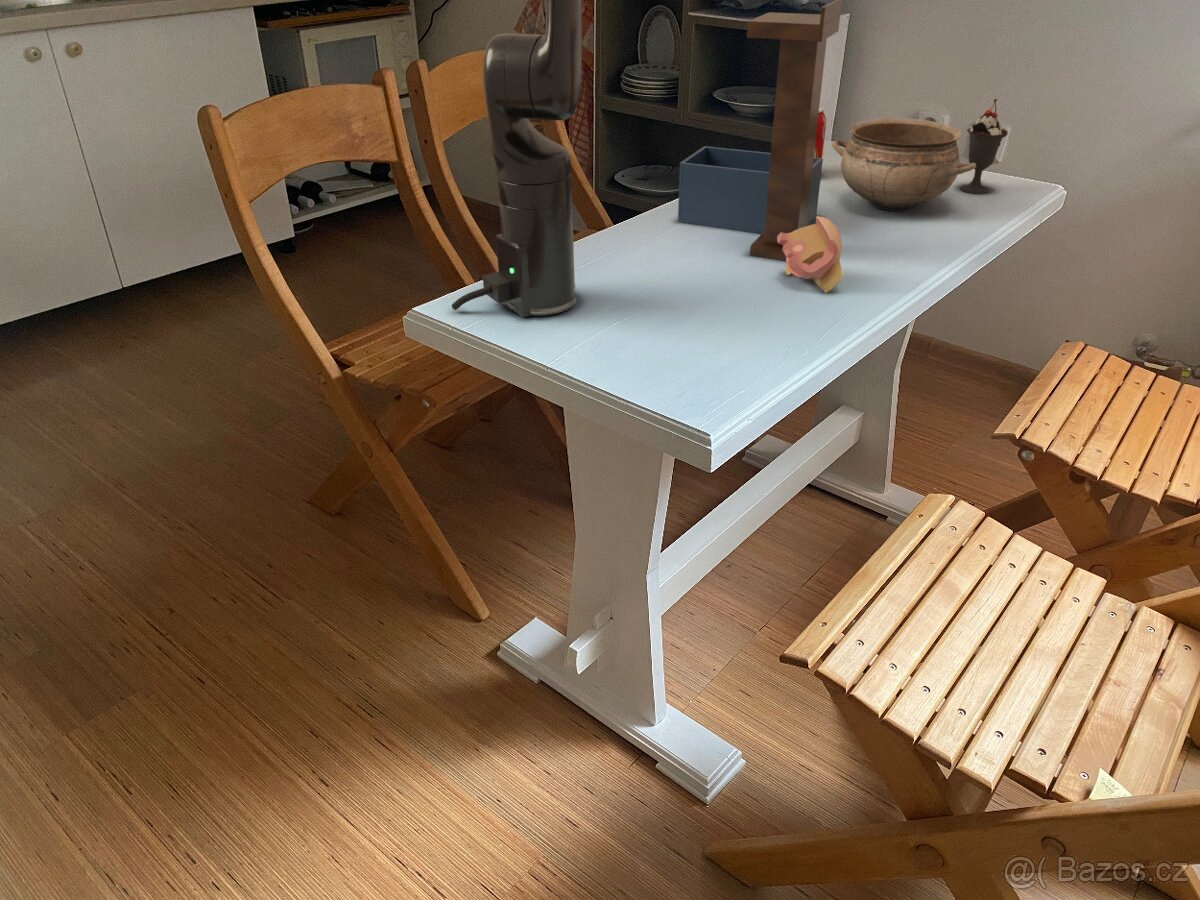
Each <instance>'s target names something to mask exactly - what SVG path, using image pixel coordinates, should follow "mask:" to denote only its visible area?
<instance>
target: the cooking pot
mask: <svg viewBox="0 0 1200 900" xmlns="http://www.w3.org/2000/svg"><path fill="white" fill-rule="evenodd" d="M849 131H850V133H851V137H850V138H849V140H848V142H846V141H844V140H842V139H835V140H833V141H832V143H831V147H832V148H833V150H835V151H836V153H837V154H838V155H839V156H841V162H840V170H841V174H842V176H843V177H842V178H843V179H844V182H845V183H846V185H847V186H848V187H849V188H850V189H851V190H852V191H853V192H854V193H855V194H857V195H858V196H860V197H861V198H863V199H864V200H866V201H868V202H869V203H871V204H872V205H873V206H874V207H876V208H878V209H882V210H887V211H898V212H899V211H907V210H911V209H912V208H914V207H917V206H919V205H921V204H924V203H926V202H929V201H932V200H933V199H936V198H938V197H939V196H941V195H942V194H943V193H944V192H946V191H947V190H949V189H950V188H951V186H952V185H953V183H954V181H955V180H956V179H957V177H958V175H962V174H964V173H967V172H970V171H973V170H975V168H976V164H975V163H969V162H968V163H961V162H960V152H959V147H958V143H957V140H959V139H960V138H961V136H962V132H961V131H960V130H959V129H957V128H956V127H954V126H952V125H948V124H946V123H942V122H938V121H934V120H933V121H931V120H925V119H919V118H917V119H916V118H900V117H888V118H886V117H885V118H873V119H866V120H862V121H858V122H856V123H854V124H852V125H851V126H849Z"/></svg>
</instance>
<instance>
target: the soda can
mask: <svg viewBox="0 0 1200 900" xmlns="http://www.w3.org/2000/svg"><path fill="white" fill-rule="evenodd" d="M824 111H825V108H824V107H822V106H820V105H819V113H818V122H817V132H816V141H815V150H814V158H823V156H824V155H823V154H824V146H825V139H826V138H825V137H826V127H827V118H826V115H825V112H824Z"/></svg>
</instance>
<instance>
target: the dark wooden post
mask: <svg viewBox="0 0 1200 900" xmlns="http://www.w3.org/2000/svg"><path fill="white" fill-rule="evenodd" d="M842 5H843V0H833V1H831V2H830V3H826V4H825V5H823V6H821V8H820V9H821V10H820V13H819V14H816V13H815V14H814V13H797V12H796V13H795V12H791V13H790V12H769V11H768V12H766V13H764V14H762V15H760V16H757V17H755V18H752V19H750V20H748V21H747V31H746V32H747V34H746V38H747V39H748V38H749V39H763V40H765V39H768V40H780V41H779V51H778V53H779V54H778V67H777V75H776V76H777V77H776V88H775V99H774V100H775V101H774V113H773V123H772V124H773V125H772V135H771V148H770V149H771V150H770V153H771V158H770V170H769V182H768V193H767V205H766V217H765V229H764V232H763V234H762V233H761V234H760V235H759V236H758V238H757V239H756V240H754V241H753V242H752V244H751V245H750V246H749V257H750V256H751V257H758V258H765V259H771V260H778V261H784V262H786V255H785V254H784V252H783V250H782V249H783V245H782V244H779V243H778V241H777V236H778V235H779V234H780V233H781V232H782V233H791V232H793V231H795V230H797V229H799V228H802V227H806V222H807V213H808V204H809V195H810V186H811V177H812V168H813V159H814V150H815V141H816V132H817V122H818V113H819V106H820V103H821V95H822V85H823V77H824V68H825V60H826V49H827V41H828V38H830V37H832V36H833V35H835V34H837V33H839V29H840V21H841V13H842Z"/></svg>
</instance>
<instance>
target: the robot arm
mask: <svg viewBox="0 0 1200 900" xmlns="http://www.w3.org/2000/svg"><path fill="white" fill-rule="evenodd" d="M543 2H544V10H545V34H533V33H531V34H530V33H499V34H497V35H494V36H493V37H492V38H490V40H489V41H488V43H487V46H486V47H485V51H484V55H483V63H482V83H483V84H482V85H483V94H484V101H485V108H486V109H485V110H486V117H487V123H488V130H489V131H488V132H489V140H490V144H491V145H490V147H491V153H492V158H493V160H494V163H495V168H496V178H497V191H498V192H497V193H498V204H499V216H500V229H501V233H499V234H496V236H495V244H496V256H497V257H496V258H497V265H498V268H497V269H498V271H495V272H491V273H487V274H484V275H482V285H483V286H482V287H483V288H479V289H476V290H473V291H470V292H468V293H466V294H464V295H462V296H461V297H459V298H458V299H457V300H455V301H454V302H453V303H452V304H451V308H452V309H453V310H454V311H457V310H458V309H459V308H461V307H462V306H463V305H464V304H466V303H468V302H470V301H472V300H474V299H475V300H476V299H478V298H480V297H484V296H487V297H489V298H490V299H492V300H493V301H494V302H496V303H498V304H503V305H504V306H506V308H509V310H511V311H513V312H514V313H516V314H517V315H519V316H520V317H522V318H526V317H527V318H528V317H533V316H534V317H536V316H537V317H538V316H539V317H542V316H551V315H557V314H560V313H563V312H566V311H568V310H570V309H572V308H573V307H574V306H575V305H576V303H577V292H576V281H575V280H576V277H575V252H574V226H573V225H574V224H573V222H574V221H573V220H574V219H573V196H572V194H573V193H572V191H573V190H572V168H571V166H572V165H571V162H572V161H571V155H570V153H569V151H568V150H567V148H566V147H564V146H563V145H561V144H559V143H557V142H556V141H553V140H551V139H550V138H548V137H546V136H544V134H542V133H541V132H539V130H537V129H536V128H535V127H534V126H533V124H532V123H531V120H543V121H566V120H569V119H570V118H571V117H573V115H574V114H575V112H576V109H577V106H578V103H579V99H580V94H581V86H582V75H583V74H582V73H583V72H582V70H583V68H582V66H583V65H582V64H583V61H582V59H583V41H582V40H583V36H582V35H583V31H582V30H583V26H582V25H583V20H582V19H583V17H582V16H583V14H582V13H583V12H582V11H583V9H582V7H583V6H582V5H583V3H582V0H543Z"/></svg>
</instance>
